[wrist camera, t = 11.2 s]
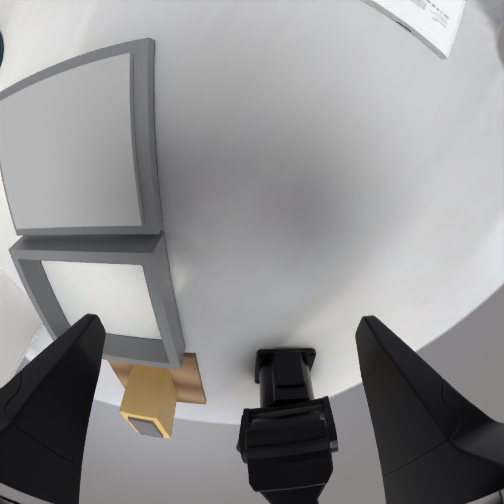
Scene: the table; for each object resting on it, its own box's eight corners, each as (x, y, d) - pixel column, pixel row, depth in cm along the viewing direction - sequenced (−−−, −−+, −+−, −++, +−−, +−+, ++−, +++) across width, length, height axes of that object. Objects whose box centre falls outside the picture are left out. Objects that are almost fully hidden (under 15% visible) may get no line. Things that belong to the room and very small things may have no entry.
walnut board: (205, 400, 35) (205, 404, 34) (129, 391, 34) (128, 394, 34) (195, 353, 28) (194, 357, 28) (101, 342, 28) (99, 346, 27)
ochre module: (177, 394, 33) (170, 441, 26) (147, 390, 33) (137, 435, 26) (167, 367, 29) (156, 421, 23) (133, 363, 29) (118, 414, 23)
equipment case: (185, 347, 28) (181, 369, 25) (68, 331, 27) (58, 349, 25) (154, 40, 13) (138, 32, 10) (2, 94, 12) (-20, 99, 10)
